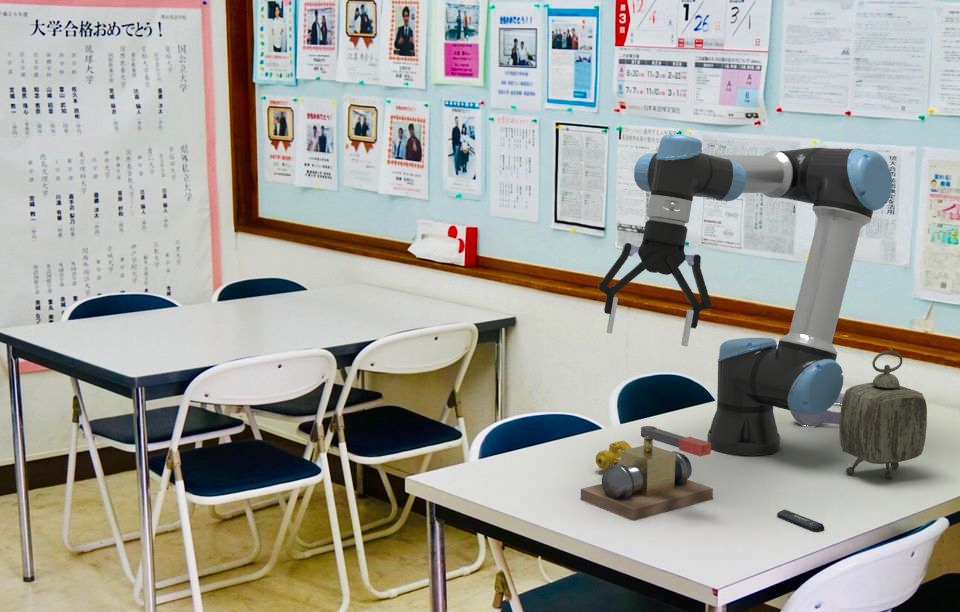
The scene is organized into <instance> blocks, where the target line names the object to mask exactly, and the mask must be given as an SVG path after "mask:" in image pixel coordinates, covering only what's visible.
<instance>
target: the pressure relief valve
mask: <svg viewBox="0 0 960 612" xmlns="http://www.w3.org/2000/svg"><path fill="white" fill-rule="evenodd" d="M630 448H632V446H631V445H630V444H629V442H627V441H626V440H619V441H616V442H610V443H609V446H608V450H607V449H606V450H601V451H599V452H597V454H596V455H595V463H596V465H597V467H598V468H600V469H601V470H602V471H603V473H605V472H606V471H607V469H608V468H609V467H610V466H613V465H617V464H620V463H621V450H626V449H630Z"/></svg>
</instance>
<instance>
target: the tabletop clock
mask: <svg viewBox="0 0 960 612" xmlns="http://www.w3.org/2000/svg"><path fill="white" fill-rule="evenodd" d="M885 355H886V356H887V355H895V356H897V357H898V358H899V364H898V365H896V366H893V367H891V366H890V365H889V364H885V365H884V368H878V367H877V366H876V364H875V363H876V361H877V360H879V358H880V357H882V356H885ZM871 364H872V367H873V368H872V369H874V370H875V371H876V372H879V373H880V374H877V375H875V377H874V378H873V380H872V381H871V382H866V383H862V384H856V385H853V386H850V387H849V388H847V389H846V390H845V391H844V393H843V394H844V396H843V400H842V405H840V411H839V412H840V420H839V426H838V427H839V429H838V430H839V444H840V448H841V452H843V453H845V454H848V455H849V456H853V457H855V458H856V460H855V462H854V463H853V465H852V466H848V467H847V468H846V470H845V472H846V475H848V476H849V475H850V476H852V475H854V474H855V468H857V467H858V466H859V464H860V463H862V462H864V461H865V462H866V463H867V462H868V463H869V464H872V465H873V464H874V465H885V468H886V471H885V472H884V478H885V479H886V480H887V481H889V480H892V479H893V478H894V473H893V472H892V471H891V470H890V469H892V470H897V469H899V467H900V465H899V464H900V463H901V462H906V461H909V460H913V459H915V458H918V457H919V456H921V455H922V454H923V451H924V447H925V444H926V436H927V435H926V434H927V425H928V424H927V423H928V406H927V403H926V399H925V397H924V394H923V393H922V392H920V391H916V390H915V389H911V388H908V387H906V386H901V385H900V381H899V379H898V377H897V376H896V375H894V374H893V372H895V371H897V370H898V369H900V367H901V366H902V364H903V357H902V355H901V354H900V353H899V352H898V351H896V350H885V351H881V352H880V353H878V354H876V355H875V357H874V358H873V361H872V363H871Z"/></svg>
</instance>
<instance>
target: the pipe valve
mask: <svg viewBox="0 0 960 612" xmlns="http://www.w3.org/2000/svg"><path fill="white" fill-rule="evenodd" d="M653 443H654V440H653V439H650V438H644V437H643V445H639V446H635V447H631V448H630V449H626V450H621V463H620V464H617V465H613V466H610V467H609V468H608V469H607V471H606V472H603V474H602V475H601V476H602V477H601V484H602V487H603V490H604V492H605V494H606V495H607V496H608V497H610V498H618V497H619V498H622V499H628V498H630V497H631V495H632V494H633V493H637V494H639V495H642V496H645V497H650V496H653V495H657V494H661V493H665V492H669V491H672V490H674V483H675V484H678V485H681V484H684V483H686V481H687V480H689V479H690V478H691V476H692V472H693V470H692V469H693V468H692V463H691V460H690V459H689V458H688V457H687V456H686V455H685V454H683V453H681V452H678V451H675V450H674V451H670V450H667V449H664V448H661V447H657V446H655V445H654V444H653Z"/></svg>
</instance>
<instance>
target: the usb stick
mask: <svg viewBox="0 0 960 612" xmlns="http://www.w3.org/2000/svg"><path fill="white" fill-rule="evenodd" d="M776 517H777V518H779V519H782V520H784V521H786V522H788V523H791V524H794V525H796V526H798V527H800V528H803V529H805V530H808V531H810V532H813V533H821V532H824V531H825V525H824V524H823V523H822V522H818V521H817V520H813V519H811V518H808V517H806V516H804V515H800V514H797V513H795V512H792V511H790V510H788V509H782V510H780V511H778V512H777V514H776Z"/></svg>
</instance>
